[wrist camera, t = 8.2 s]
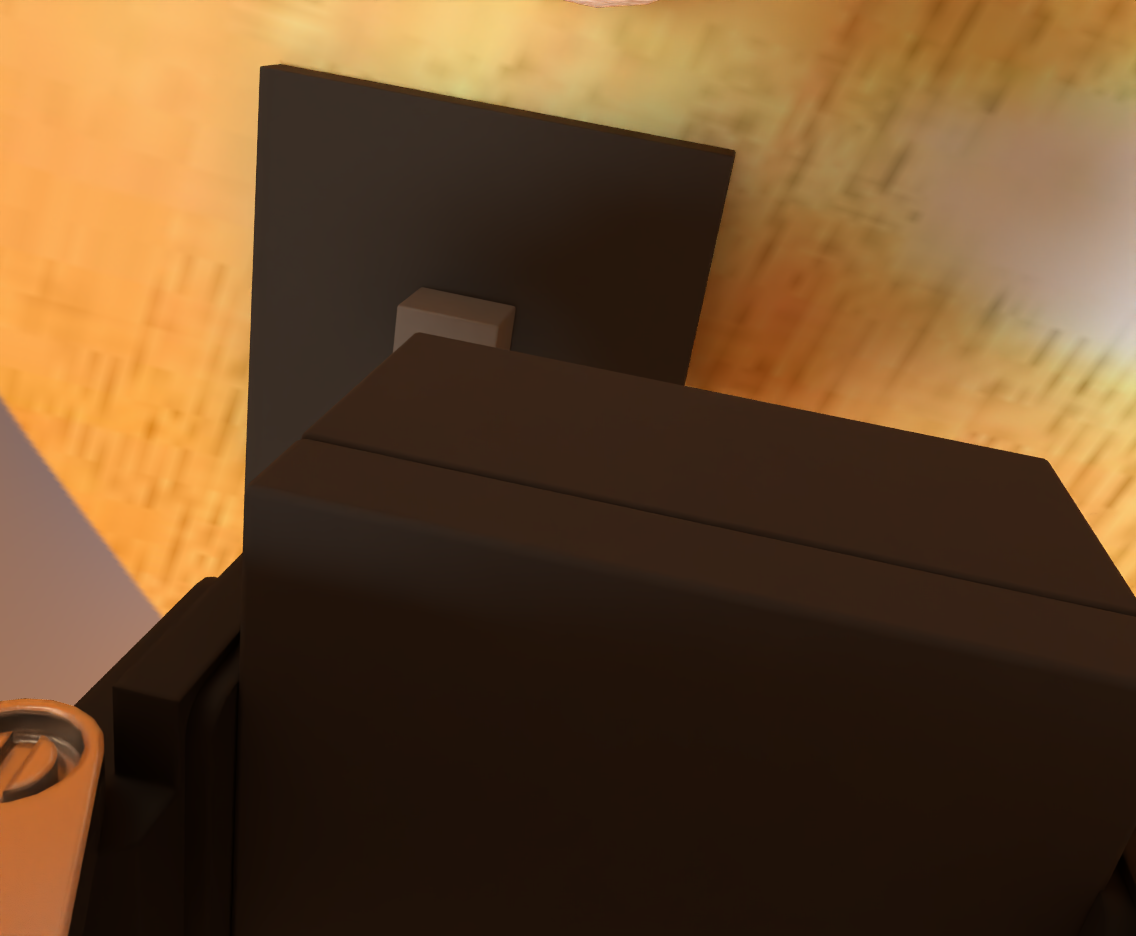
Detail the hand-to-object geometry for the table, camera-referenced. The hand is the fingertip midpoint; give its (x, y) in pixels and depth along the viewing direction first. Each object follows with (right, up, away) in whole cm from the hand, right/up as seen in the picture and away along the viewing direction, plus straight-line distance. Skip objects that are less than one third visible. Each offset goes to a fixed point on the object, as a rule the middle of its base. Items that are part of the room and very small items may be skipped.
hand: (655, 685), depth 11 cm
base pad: (-3, +6, +18) cm, 19 cm away
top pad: (0, 0, +1) cm, 1 cm away
